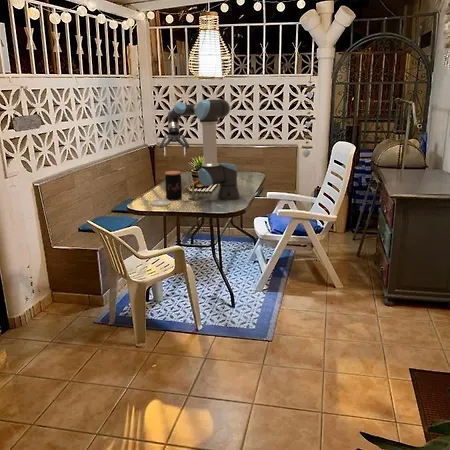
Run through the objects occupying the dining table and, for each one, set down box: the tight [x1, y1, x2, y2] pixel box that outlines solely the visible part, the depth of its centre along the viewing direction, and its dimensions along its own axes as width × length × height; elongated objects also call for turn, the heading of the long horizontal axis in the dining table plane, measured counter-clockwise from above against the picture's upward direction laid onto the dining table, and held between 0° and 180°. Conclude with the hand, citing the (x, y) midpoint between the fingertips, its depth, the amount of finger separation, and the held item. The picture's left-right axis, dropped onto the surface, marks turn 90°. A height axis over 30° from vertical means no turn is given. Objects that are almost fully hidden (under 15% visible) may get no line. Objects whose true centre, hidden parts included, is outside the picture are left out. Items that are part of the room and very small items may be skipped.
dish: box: [149, 198, 172, 208], centre depth 310 cm, size 13×13×2 cm
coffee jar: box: [164, 170, 183, 201], centre depth 321 cm, size 11×11×18 cm
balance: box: [182, 179, 205, 202], centre depth 318 cm, size 6×17×13 cm, turn 133°
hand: (175, 156), depth 326 cm, fingers open, 13 cm apart
